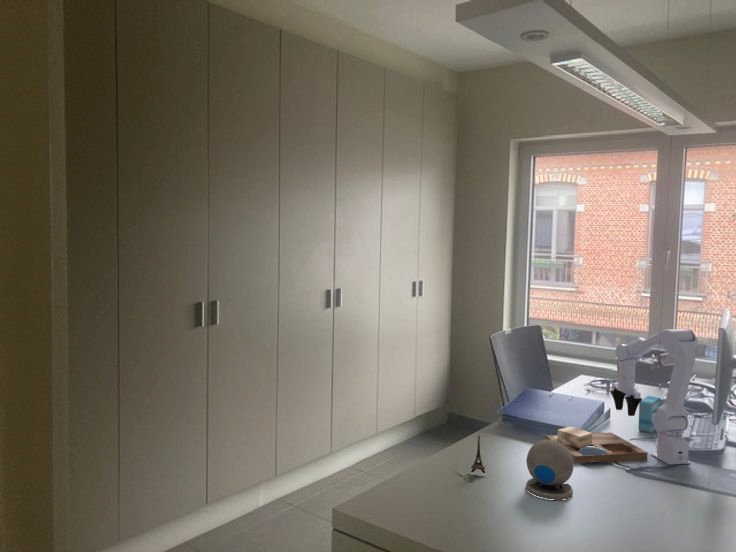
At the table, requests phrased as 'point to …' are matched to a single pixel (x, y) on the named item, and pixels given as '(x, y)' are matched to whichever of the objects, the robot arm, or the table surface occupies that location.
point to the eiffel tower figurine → (478, 464)
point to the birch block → (574, 437)
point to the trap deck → (606, 449)
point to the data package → (648, 413)
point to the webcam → (550, 470)
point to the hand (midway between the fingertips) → (625, 412)
